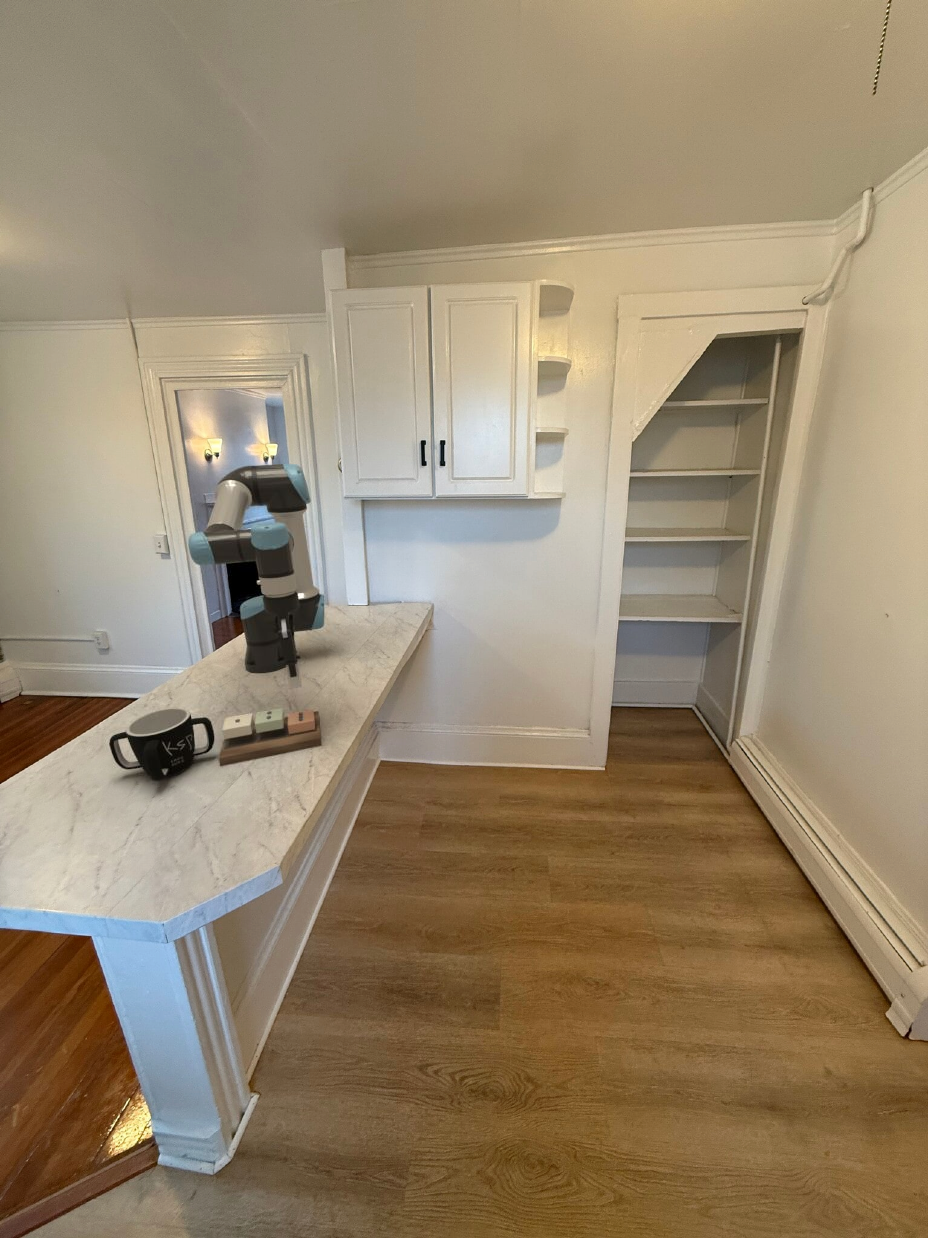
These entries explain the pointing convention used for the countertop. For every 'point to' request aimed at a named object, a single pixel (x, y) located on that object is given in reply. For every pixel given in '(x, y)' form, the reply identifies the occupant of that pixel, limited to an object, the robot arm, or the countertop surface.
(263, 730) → the key
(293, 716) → the key
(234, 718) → the key
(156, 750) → the mug
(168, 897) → the countertop surface
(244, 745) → the board
